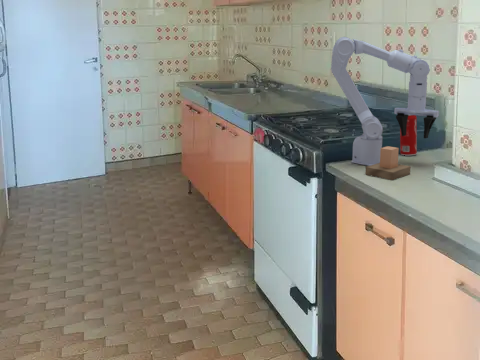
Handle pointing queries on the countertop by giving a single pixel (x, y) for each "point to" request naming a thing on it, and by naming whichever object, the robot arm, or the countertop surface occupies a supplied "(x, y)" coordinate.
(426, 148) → the countertop surface
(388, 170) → the walnut base
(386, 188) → the countertop surface
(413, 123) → the beverage can
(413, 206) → the countertop surface
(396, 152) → the terracotta block
